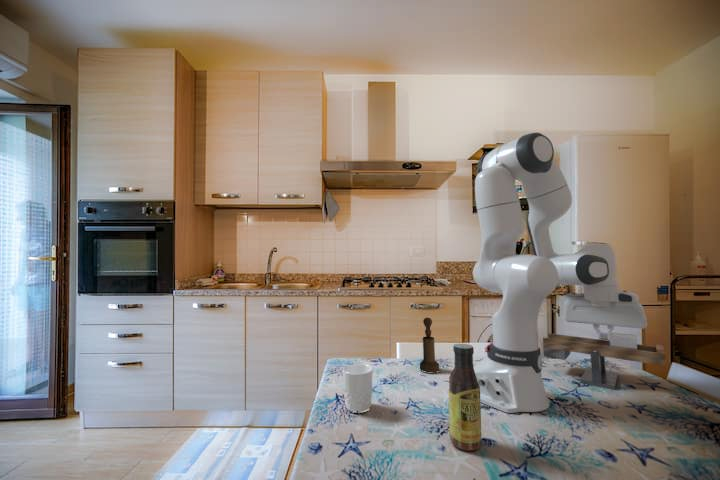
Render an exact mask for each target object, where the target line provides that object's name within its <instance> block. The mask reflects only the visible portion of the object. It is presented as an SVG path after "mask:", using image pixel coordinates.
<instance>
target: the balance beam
mask: <svg viewBox="0 0 720 480" xmlns="http://www.w3.org/2000/svg"><path fill="white" fill-rule="evenodd" d="M547 334H548V335H547V336H548V337H545V336H544V337H542V348H543V350H542V352H543V357H545V358H551V359H556V360H561V361H566V360H567V358H568V357H569V356H570V355H571V353H577V354H583V355H590V356H591V354H590V352H591V351H594V352H599V354H600V356H603V357H605V358H610V359H618V360H625V361H631V362H636V363H644V364H650V365H657V366H664V367H666V363H667V362H666V354H665V353H666V352H665V347H664V344H660V343H656V344H655V346H654V345H646V344H640V343H639V344H638V343H637V344H638V350H634V349H627V348H619V347H612V346H610V340H601V339H599V338H598V339H597V338H589V337H583V336H581V337H580V336H574V335H573V336H572V335H566V334H560V333H559V334H557V333H551V332H550V333H549V332H548V333H547Z"/></svg>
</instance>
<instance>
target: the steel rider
mask: <svg viewBox="0 0 720 480" xmlns="http://www.w3.org/2000/svg"><path fill="white" fill-rule="evenodd" d="M609 341H610V346H612V347H619V348H627V349H634V350H638V335H637V334H632V333H630V334H629V333H623V332H621V333H620V332H614V331H612V333H611V334H610V340H609Z"/></svg>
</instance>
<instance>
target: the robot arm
mask: <svg viewBox="0 0 720 480" xmlns="http://www.w3.org/2000/svg"><path fill="white" fill-rule="evenodd" d="M554 154H555V152H554V146H553V142H552V141H551V140H550V138H549V137H547V136H546V135H544V134H542V133H541V132H532V133H531V132H530V133H526V134H523V135H522V136H521V137H519V138H516V139H513V140H510V141H508V142H505V143H502V144H501V145H499V146H497V147H495V148H494V149H492V150H491V151H488V152H486V153H485V154H484V155H482V156H481V157H480V159H479V160H478V161H477V163H476V164H477V165H476V174H477V175H476V176H475V178H474V179H475V180H474V195H475V196H474V197H475V198H474V199H475V206H476V207H475V208H476V212H477V216H478V223H479V228H480V235H481V236H480V237H481V238H480V240H481V241H480V242H481V243H480V253H479V257H478V259H477V262H476V263H475V264H474V266H473V270H472V277H473V281H474V282H475V284H477V286H478V287H480V288H482V289H483V290H486V291H488V292H491V293H497V294H502V300H501V305H500V306H499V309H498V310H496V311H495V312H494V313H493V315H492V317H491V328H492V329H491V330H492V341H490V343H489V344H488V345H486V347H485V348H484V353H486V354H487V355H486V356H485V357H484V358H482V359H481V360H479V361H478V362H476V363H475V364H473V368H474V371H475V375H476V378H477V381H478V384H479V386H480V403H482V404H483V405H487V406H489V407H491V408H495V409H497V410H500V411H501V412H505V413H507V414H514V413H519V412H520V413H522V412H523V413H538V412H542V411H543V412H544V411H545V410H547V409H548V408H550V406H551V405H550V404H551V403H550V401H549V399H548V396H547V392H546V389H545V386H544V385H545V384H544V381H543V376H542V371H543V370H542V369H543V358H542V357H543V356H542V353H541V348H540V347H539V332H538V330H539V327H538V323H539V321H538V320H539V314H540V310H541V308H542V305H543V303H544V301H545V299H546V298H547V297H548V296H549V295H551V294H553V292H554V291H555V289H556V288H557V286H559V285H561V286H562V285H566V286H567V285H568V286H582V293H571V292H569V293H566V294H564V295H563V296H562V298H561V302H562V305H563V306H564V308H563V319H564V320H565V321H566V322H567V323H578V324H587V325H593V326H592V327H593V330H595V332H596V333H597V335H598V339H599V340H607V341H610V334H611V333H612V332H614V329H615V327H621V328H630V329H631V328H632V329H640V330H641V329H644V330H645V329H646V327H648V322H647V321H648V320H647V316H646V313H645V308H644V306H643V305H642V304H641V302H639V301H640V298H639V295H638V294H637V293H635V292H631V291H627V290H622V289H620V288H619V283H618V281H617V273H618V268H617V260H616V255H615V252H614V249H613V246H612V245H611V244H609V243H605V242H596V241H595V242H585V243H583V244H581V249H580V250H578V251H576V252H574V253H569V254H559V253H556V252H555V251H554V249H553V246H552V240H551V236H550V232H549V229H550V226H551V224H553V223H554V222H555V221H556V220H557V221H558V219H560V218H561V217H563V216H564V215H565V214H566V213H567V212H568V211H569V209H570V208H571V205H572V203H573V197H572V193H571V190H570V187H569V184H568V182H567V180H566V178H565V176H564V174H563V172H562V170H561V169H560V166H559V165H558V164H557V162H556V160H555V159H554ZM517 180H518V181H519V182H521V185H522V186H521V187H522V189H523V193H524V195H525V197H526V200H527V203H528V211H529V212H528V214H527V215H526V227H527V232H528V236H529V239H530V245H531V249H532V252H533V254H529V253H527V254H525V253H524V254H516V252H517V251H516V249H517V244H518V240H519V238H520V237H521V236H522V235H523V234H524V232H525V221H524V216H523V211H522V207H521V201H520V197H519V193H518V189H517V186H516V181H517ZM600 326H607V330H608V331H607V333H606V332H602V331H601V330H600Z"/></svg>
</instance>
